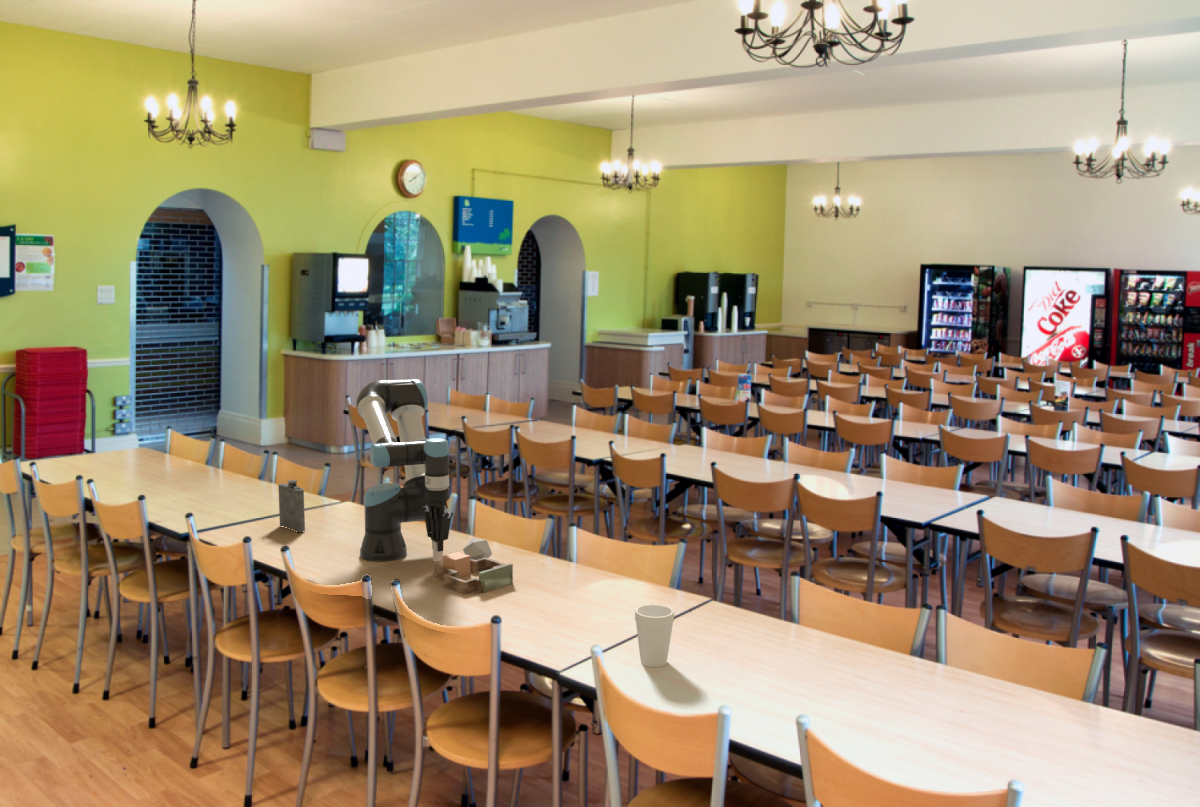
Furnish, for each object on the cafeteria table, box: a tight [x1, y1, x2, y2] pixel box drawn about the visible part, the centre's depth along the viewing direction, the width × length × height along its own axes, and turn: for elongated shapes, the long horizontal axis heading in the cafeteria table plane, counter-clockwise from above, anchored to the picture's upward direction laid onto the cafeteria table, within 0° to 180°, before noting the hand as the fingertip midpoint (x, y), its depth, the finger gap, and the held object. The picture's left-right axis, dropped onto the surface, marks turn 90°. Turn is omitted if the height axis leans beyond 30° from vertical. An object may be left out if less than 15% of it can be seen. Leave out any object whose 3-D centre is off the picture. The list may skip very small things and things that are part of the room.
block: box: [442, 551, 471, 578], centre depth 295 cm, size 6×6×6 cm
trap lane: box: [434, 557, 514, 595], centre depth 290 cm, size 22×20×6 cm
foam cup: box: [634, 603, 675, 668], centre depth 230 cm, size 10×9×13 cm
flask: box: [278, 479, 306, 533], centre depth 344 cm, size 4×14×18 cm, turn 49°
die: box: [462, 537, 493, 560], centre depth 307 cm, size 8×9×10 cm
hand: (438, 560), depth 301 cm, fingers closed
